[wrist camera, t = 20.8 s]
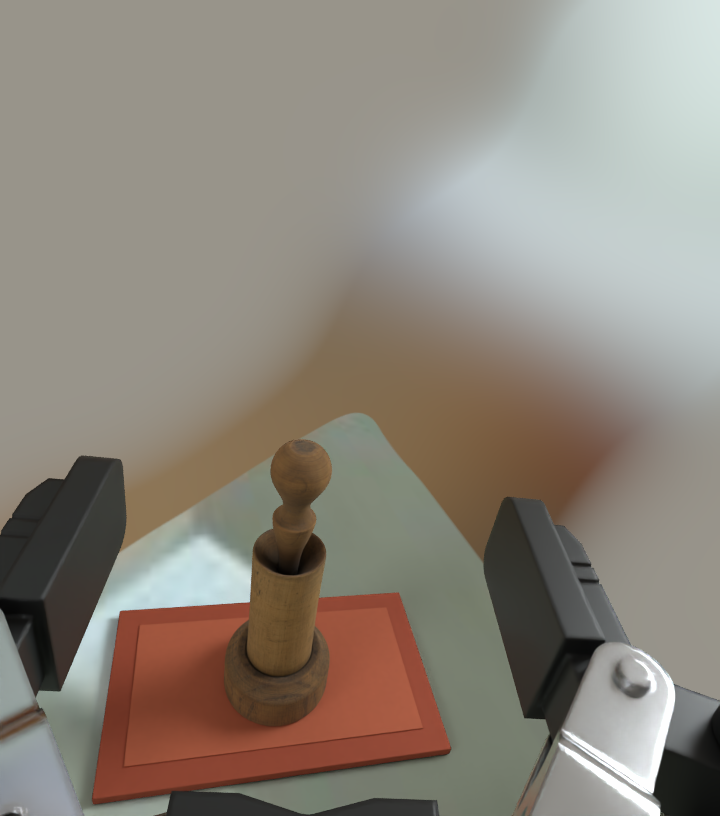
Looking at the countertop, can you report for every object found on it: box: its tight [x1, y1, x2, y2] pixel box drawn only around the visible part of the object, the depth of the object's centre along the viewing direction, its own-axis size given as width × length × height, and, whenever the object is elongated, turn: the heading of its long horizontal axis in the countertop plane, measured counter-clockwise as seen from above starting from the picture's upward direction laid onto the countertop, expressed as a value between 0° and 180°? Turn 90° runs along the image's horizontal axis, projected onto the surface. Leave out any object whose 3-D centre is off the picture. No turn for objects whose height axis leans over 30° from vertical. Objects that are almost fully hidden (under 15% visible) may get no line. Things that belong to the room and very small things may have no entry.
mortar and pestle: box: [224, 439, 332, 726], centre depth 33 cm, size 7×6×18 cm
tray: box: [92, 593, 451, 804], centre depth 38 cm, size 20×12×1 cm, turn 102°
